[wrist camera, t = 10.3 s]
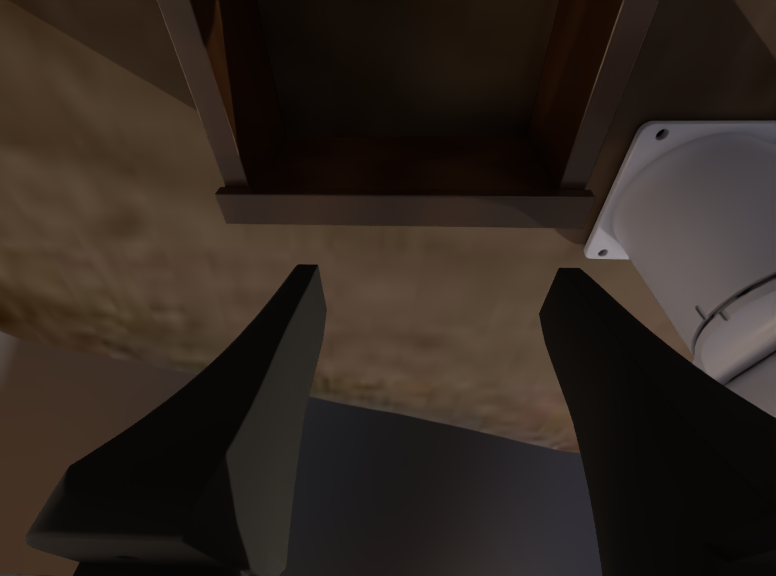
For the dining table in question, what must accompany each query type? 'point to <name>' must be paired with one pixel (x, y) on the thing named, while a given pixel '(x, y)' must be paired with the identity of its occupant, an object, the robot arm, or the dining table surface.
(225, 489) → the robot arm
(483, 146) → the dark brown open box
